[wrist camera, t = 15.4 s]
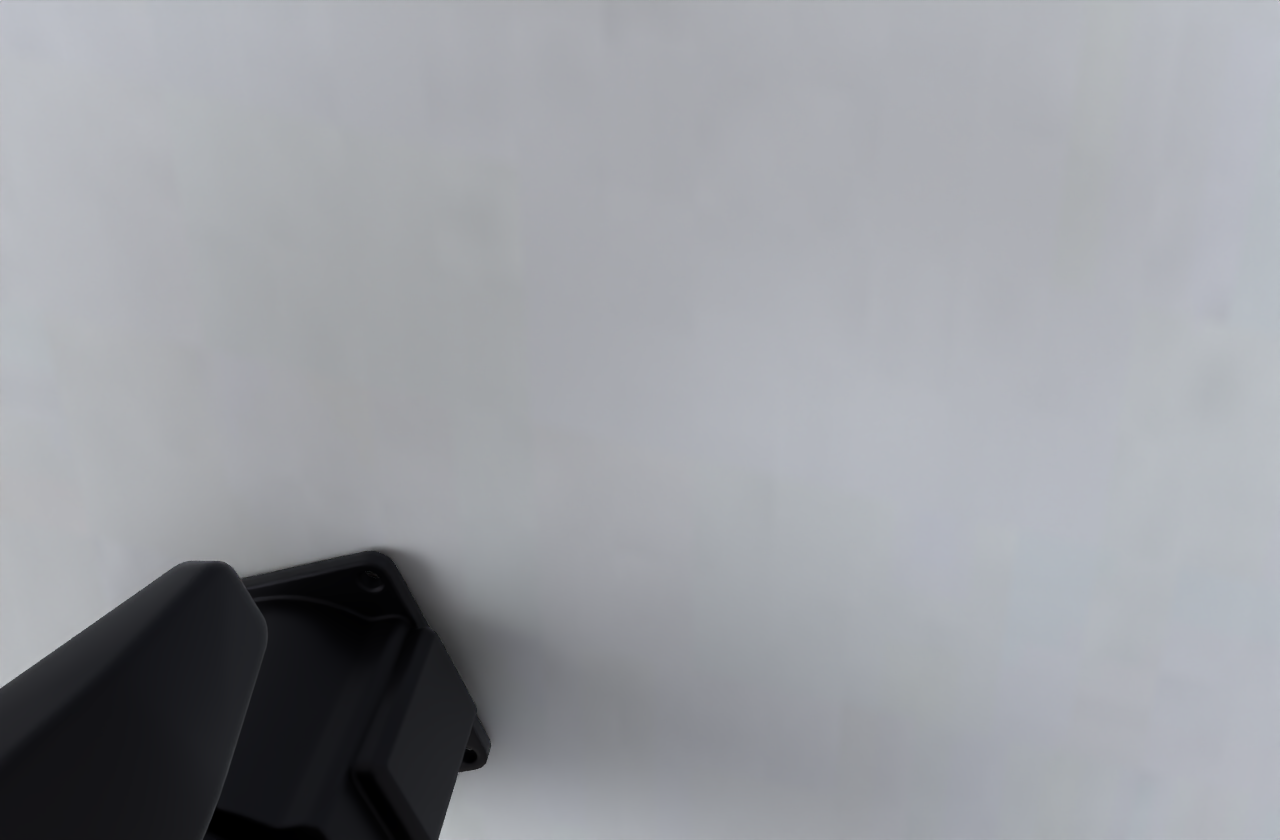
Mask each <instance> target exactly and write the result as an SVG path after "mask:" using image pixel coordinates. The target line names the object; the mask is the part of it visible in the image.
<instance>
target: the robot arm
mask: <svg viewBox="0 0 1280 840" xmlns="http://www.w3.org/2000/svg"><path fill="white" fill-rule="evenodd" d="M365 571H371V572H373V573H375V574H377V575H378V576H379V577H380V578H373V577H371V576H369V575H368V574H367V573H366V572H365ZM476 713H477V708H476V705H475V704H474V702H473V700H472V698H471V696H470V694H469V692H468V690H467V689H466V687H465V685H464V683H463V681H462V679H461V677H460V675H459V674H458V672H457V670H456V668H455V666H454V664H453V662H452V661H451V659H450V657H449V655H448V653H447V651H446V649H445V647H444V646H443V644H442V642H441V640H440V638H439V636H438V635H437V634H436V633H435V632H434V631H433V630H432V629H431V628H430V627H429V626H428V624H427V622H426V620H425V618H424V617H423V615H422V613H421V611H420V609H419V607H418V605H417V604H416V602H415V600H414V598H413V596H412V594H411V592H410V591H409V589H408V587H407V585H406V583H405V581H404V579H403V578H402V576H401V574H400V572H399V570H398V568H397V566H396V565H395V563H394V562H393V561H392V560H391V558H389V557H388V556H386V555H384V554H383V553H379V552H376V551H365V552H361V553H356V554H352V555H347V556H343V557H338V558H334V559H329V560H325V561H320V562H315V563H311V564H306V565H302V566H297V567H293V568H288V569H284V570H279V571H275V572H270V573H266V574H261V575H256V576H252V577H247V578H243V579H240V578H239V576H238V574H237V573H236V571H235V570H234V569H233V568H232V567H231V566H230V565H228V564H227V563H225V562H220V561H188V562H183V563H181V564H178V565H177V566H175V567H173V568H172V569H171V570H169V571H168V572H166V573H165V574H163V575H162V576H161V577H159V578H158V579H156V580H155V581H153V582H152V583H151V584H149V585H148V586H146V587H145V588H143V589H142V590H141V591H139V592H138V593H136V594H135V595H133V596H132V597H131V598H129V599H128V600H126V601H125V602H123V603H122V604H121V605H119V606H118V607H116V608H115V609H113V610H112V611H111V612H109V613H108V614H106V615H105V616H103V617H102V618H101V619H99V620H98V621H96V622H95V623H93V624H92V625H91V626H89V627H88V628H86V629H85V630H83V631H82V632H81V633H79V634H78V635H76V636H75V637H73V638H72V639H71V640H69V641H68V642H66V643H65V644H63V645H62V646H60V647H59V648H58V649H56V650H55V651H53V652H52V653H50V654H49V655H48V656H46V657H45V658H43V659H42V660H40V661H39V662H38V663H36V664H35V665H33V666H32V667H30V668H29V669H28V670H26V671H25V672H23V673H22V674H20V675H19V676H18V677H16V678H15V679H13V680H12V681H10V682H9V683H8V684H6V685H5V686H3V687H2V688H0V840H438V838H439V835H440V832H441V829H442V825H443V822H444V819H445V815H446V812H447V809H448V805H449V802H450V799H451V795H452V792H453V789H454V785H455V782H456V779H457V775H458V772H463V771H470V770H475V769H478V768H481V767H483V766H484V765H485V764H486V762H487V758H488V755H489V751H490V748H491V743H490V739H489V738H488V736H487V734H486V732H485V730H484V728H483V726H482V724H481V723H480V721H479V719H478V717H477V715H476ZM466 748H469V749H472V750H468V749H466Z"/></svg>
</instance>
